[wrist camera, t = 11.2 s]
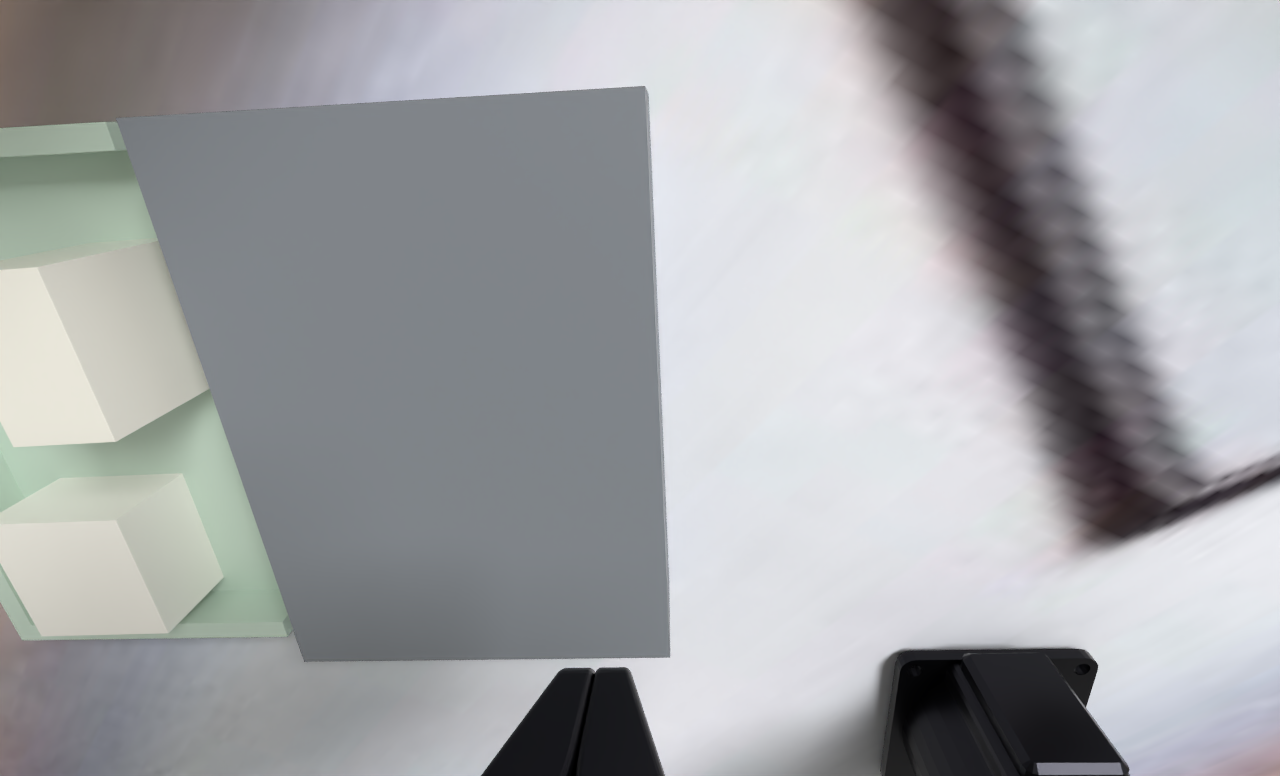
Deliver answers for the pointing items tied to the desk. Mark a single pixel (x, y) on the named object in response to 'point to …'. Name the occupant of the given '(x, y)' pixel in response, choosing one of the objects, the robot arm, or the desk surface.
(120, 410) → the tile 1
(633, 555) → the gray rectangular block
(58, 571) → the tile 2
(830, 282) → the desk surface
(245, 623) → the box
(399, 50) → the desk surface
